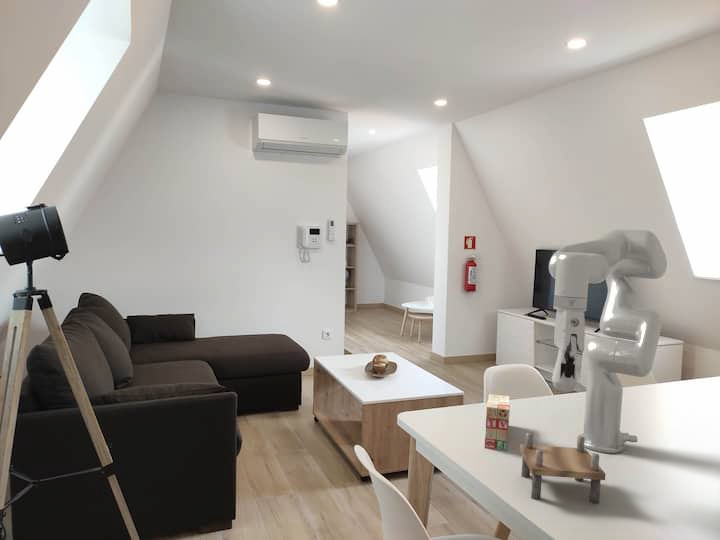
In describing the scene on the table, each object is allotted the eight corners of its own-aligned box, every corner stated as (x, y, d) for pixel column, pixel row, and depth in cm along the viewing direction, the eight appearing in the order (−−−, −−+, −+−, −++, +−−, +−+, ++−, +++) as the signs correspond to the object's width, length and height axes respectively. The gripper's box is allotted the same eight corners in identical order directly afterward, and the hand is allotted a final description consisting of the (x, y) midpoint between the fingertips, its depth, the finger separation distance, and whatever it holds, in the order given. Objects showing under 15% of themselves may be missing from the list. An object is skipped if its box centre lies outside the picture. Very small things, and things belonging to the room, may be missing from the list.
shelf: (583, 477, 134) (586, 435, 133) (603, 506, 120) (606, 458, 119) (518, 472, 135) (520, 430, 135) (530, 500, 122) (533, 453, 121)
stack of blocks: (487, 423, 171) (489, 385, 170) (507, 425, 169) (509, 387, 169) (484, 448, 151) (486, 406, 150) (507, 451, 149) (509, 408, 148)
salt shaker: (547, 386, 134) (550, 334, 133) (569, 386, 134) (573, 335, 134) (557, 392, 128) (561, 339, 127) (580, 393, 129) (584, 340, 128)
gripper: (597, 308, 121) (591, 388, 122) (576, 301, 138) (571, 371, 139) (563, 306, 122) (557, 385, 123) (546, 299, 139) (541, 369, 140)
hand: (564, 377), depth 131 cm, fingers closed on salt shaker, 3 cm apart
